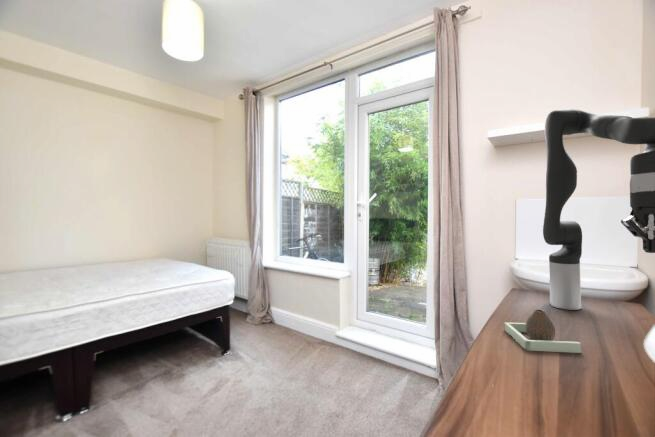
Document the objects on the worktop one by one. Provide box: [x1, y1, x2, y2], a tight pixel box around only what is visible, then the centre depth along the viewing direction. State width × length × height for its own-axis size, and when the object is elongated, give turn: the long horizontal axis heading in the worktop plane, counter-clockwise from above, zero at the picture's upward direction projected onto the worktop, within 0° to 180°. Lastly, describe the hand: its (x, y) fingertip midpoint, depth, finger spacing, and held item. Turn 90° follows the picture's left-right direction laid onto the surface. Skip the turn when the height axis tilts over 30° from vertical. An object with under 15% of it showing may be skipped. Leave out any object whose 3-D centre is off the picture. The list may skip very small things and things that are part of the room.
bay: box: [503, 321, 582, 354], centre depth 84 cm, size 14×13×2 cm
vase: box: [525, 308, 556, 341], centre depth 84 cm, size 7×7×9 cm
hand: (651, 252), depth 80 cm, fingers closed
